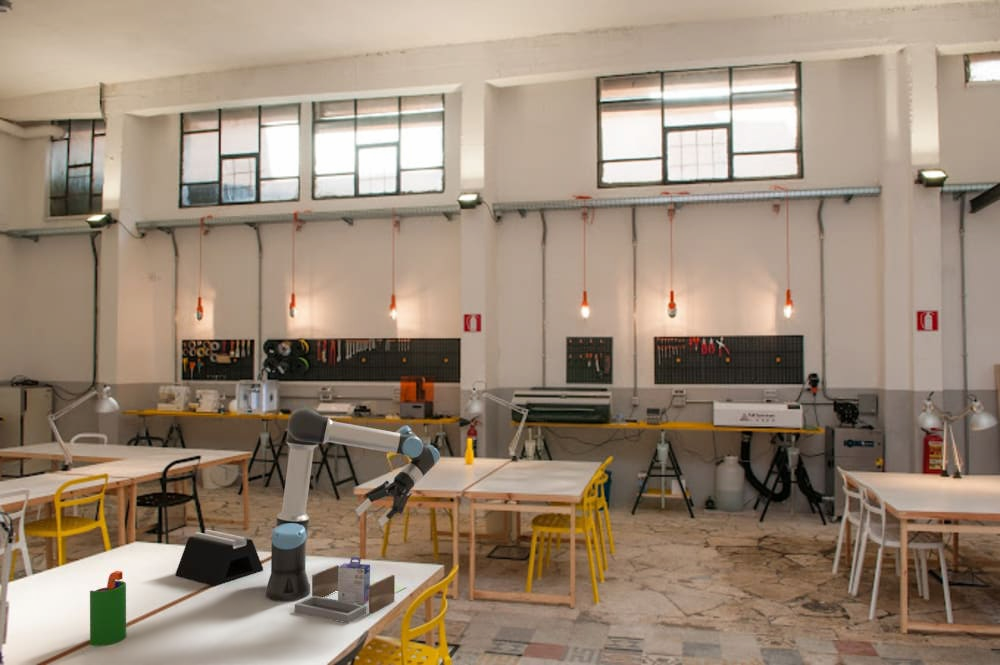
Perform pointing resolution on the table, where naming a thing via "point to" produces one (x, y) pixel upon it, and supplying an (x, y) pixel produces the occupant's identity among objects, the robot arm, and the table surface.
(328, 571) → the tunnel walls
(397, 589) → the pad
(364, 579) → the ink cartridge box
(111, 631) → the green tool holder
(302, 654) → the table surface
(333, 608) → the pit trap
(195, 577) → the device stand
